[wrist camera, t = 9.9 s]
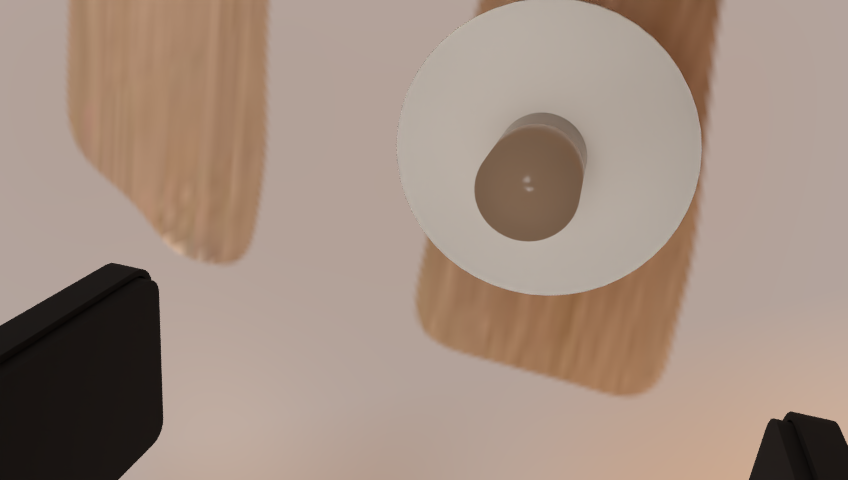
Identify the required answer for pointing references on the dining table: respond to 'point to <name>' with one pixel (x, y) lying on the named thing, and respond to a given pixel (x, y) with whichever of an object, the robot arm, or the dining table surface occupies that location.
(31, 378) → the robot arm
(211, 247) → the dining table surface
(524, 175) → the lid
